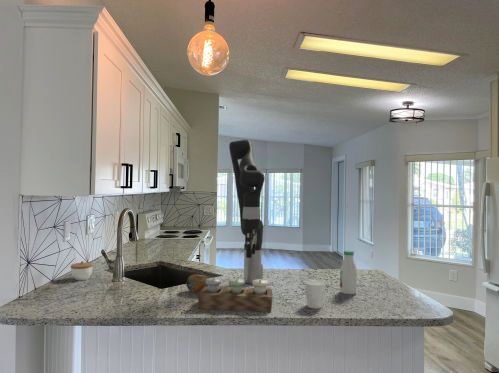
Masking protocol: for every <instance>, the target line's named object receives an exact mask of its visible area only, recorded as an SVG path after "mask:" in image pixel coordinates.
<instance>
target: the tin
mask: <svg viewBox="0 0 499 373" xmlns="http://www.w3.org/2000/svg"><path fill="white" fill-rule="evenodd" d="M208 278H213V277H212V276H209V275H204V274H197V273H196V274H191V275H189V276H188V277H187V279H186V287H187V289H188V291H189V292H191V293H194V294H199V293H200V292H201V290H202V289H203V288H204V287H205V286H208V285H207V284H206V279H208Z"/></svg>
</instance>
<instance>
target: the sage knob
mask: <svg viewBox="0 0 499 373" xmlns="http://www.w3.org/2000/svg"><path fill="white" fill-rule="evenodd" d="M228 285H229V286H230V287H231V293H234V294H242V288H243V286H244V285H245V282H244V278H243V279H242V278H231V279H229V280H228Z"/></svg>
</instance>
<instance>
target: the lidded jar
mask: <svg viewBox="0 0 499 373" xmlns="http://www.w3.org/2000/svg"><path fill="white" fill-rule="evenodd" d="M93 265H94V264H93V263H92V262H84V261H82V260H81V261H80V262H76V263H72V264H70V273H71V275H72V276H71V277H72V278H74V280H76V281H86V280H88V279H89V278H90V277H91V275H92V273H93V268H94V267H93Z"/></svg>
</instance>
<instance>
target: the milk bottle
mask: <svg viewBox="0 0 499 373" xmlns="http://www.w3.org/2000/svg"><path fill="white" fill-rule="evenodd" d="M354 254H355V253H354V251H353V250H349V249H348V250H343V260H342V262H341V264H340V270H339V271H340V272H339V292H340V293H341V294H344V295H350V296H351V295H352V296H353V295H356V294H357V289H358V286H357V285H358V284H357V283H358V282H357V281H358V279H357V277H358V275H357V274H358V272H357V270H358V268H357V265H356V263H355V260H354Z"/></svg>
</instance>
